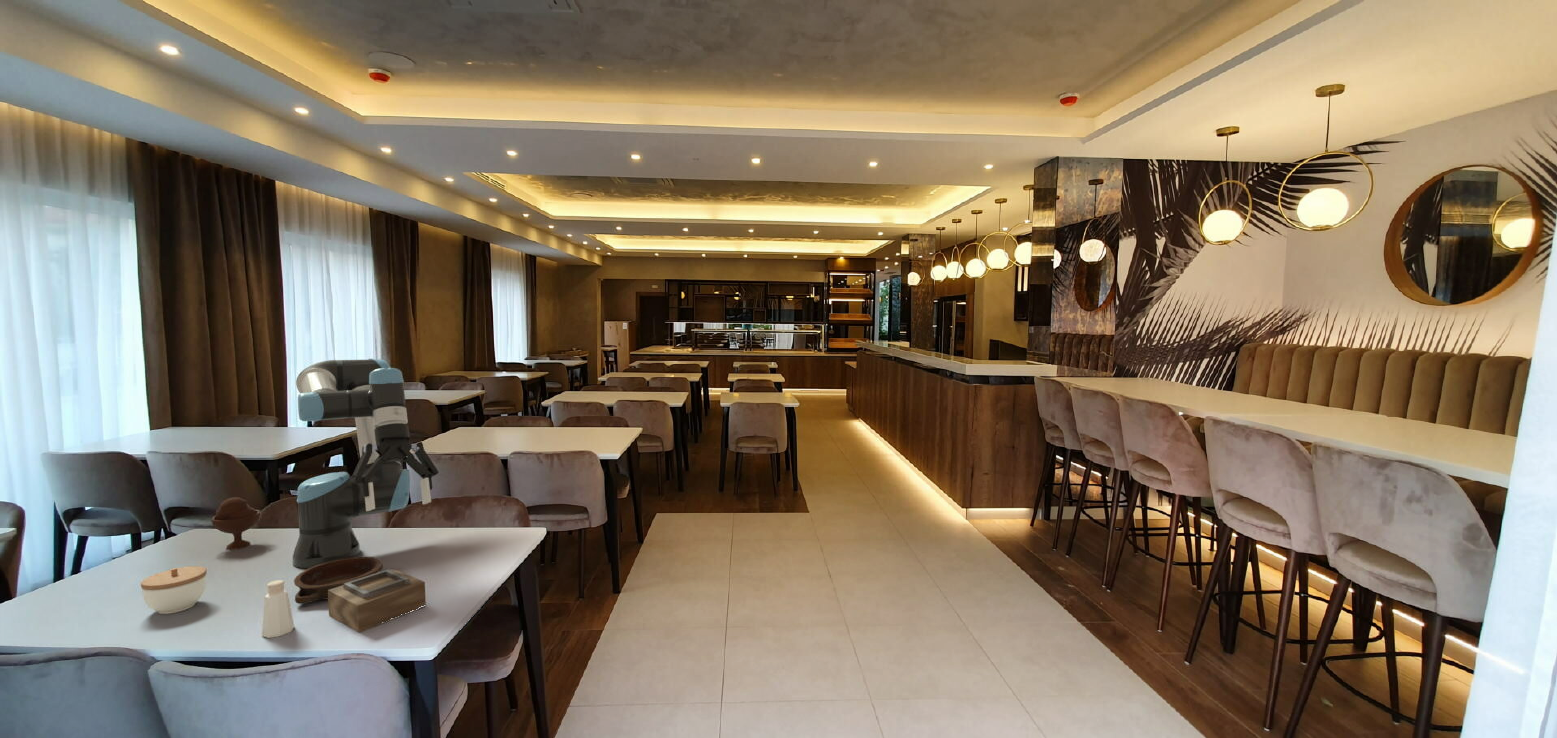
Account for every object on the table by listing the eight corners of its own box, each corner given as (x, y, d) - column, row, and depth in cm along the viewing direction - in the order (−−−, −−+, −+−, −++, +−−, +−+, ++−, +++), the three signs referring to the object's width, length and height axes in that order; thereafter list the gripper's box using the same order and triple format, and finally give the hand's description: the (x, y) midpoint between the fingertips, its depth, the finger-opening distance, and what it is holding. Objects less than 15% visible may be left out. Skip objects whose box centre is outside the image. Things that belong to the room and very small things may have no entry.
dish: (266, 605, 140) (265, 585, 140) (350, 568, 162) (350, 550, 162) (328, 613, 137) (327, 592, 137) (405, 574, 158) (405, 555, 158)
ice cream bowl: (268, 544, 178) (266, 495, 177) (219, 556, 169) (216, 504, 168) (255, 537, 184) (252, 489, 183) (207, 548, 175) (203, 498, 173)
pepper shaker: (296, 631, 128) (293, 582, 127) (263, 641, 124) (260, 590, 124) (292, 622, 132) (289, 574, 131) (260, 631, 128) (257, 582, 127)
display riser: (329, 615, 135) (327, 584, 135) (394, 592, 147) (393, 564, 147) (359, 632, 128) (357, 600, 128) (425, 606, 140) (424, 576, 139)
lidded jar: (150, 623, 131) (147, 582, 130) (137, 611, 137) (134, 571, 136) (215, 604, 140) (212, 565, 139) (200, 593, 146) (197, 556, 145)
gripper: (344, 422, 143) (352, 509, 139) (446, 421, 165) (456, 497, 160) (329, 430, 147) (336, 516, 142) (431, 429, 168) (440, 503, 163)
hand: (399, 506), depth 151 cm, fingers open, 13 cm apart
